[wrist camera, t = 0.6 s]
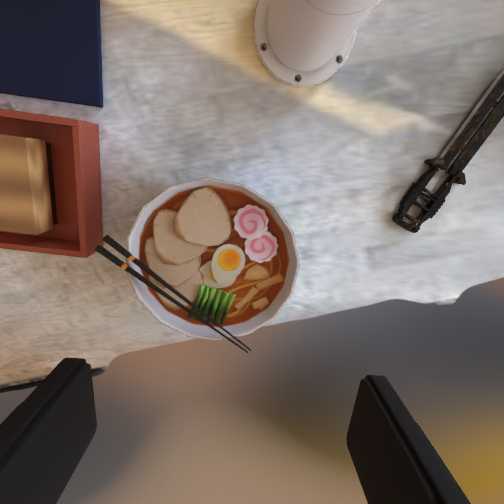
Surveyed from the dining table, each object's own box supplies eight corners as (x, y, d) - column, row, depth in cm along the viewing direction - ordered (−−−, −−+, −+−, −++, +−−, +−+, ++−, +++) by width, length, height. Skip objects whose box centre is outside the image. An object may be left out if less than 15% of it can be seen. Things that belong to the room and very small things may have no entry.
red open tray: (-31, 106, 37) (-70, 99, 32) (98, 124, 38) (78, 119, 33) (-9, 234, 42) (-40, 244, 38) (103, 247, 43) (86, 257, 39)
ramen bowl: (325, 251, 44) (342, 270, 36) (228, 341, 49) (225, 375, 41) (205, 133, 38) (194, 126, 31) (109, 248, 43) (78, 267, 35)
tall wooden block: (14, 135, 37) (-19, 131, 33) (53, 140, 38) (25, 137, 33) (25, 222, 41) (-3, 230, 36) (60, 226, 41) (36, 235, 37)
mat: (-76, -123, 30) (-84, -131, 29) (96, -92, 31) (92, -98, 30) (-39, 87, 36) (-46, 85, 35) (103, 107, 37) (100, 106, 36)
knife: (513, 52, 36) (523, 48, 35) (544, 84, 37) (555, 81, 36) (381, 212, 42) (385, 214, 41) (412, 235, 44) (417, 238, 42)
